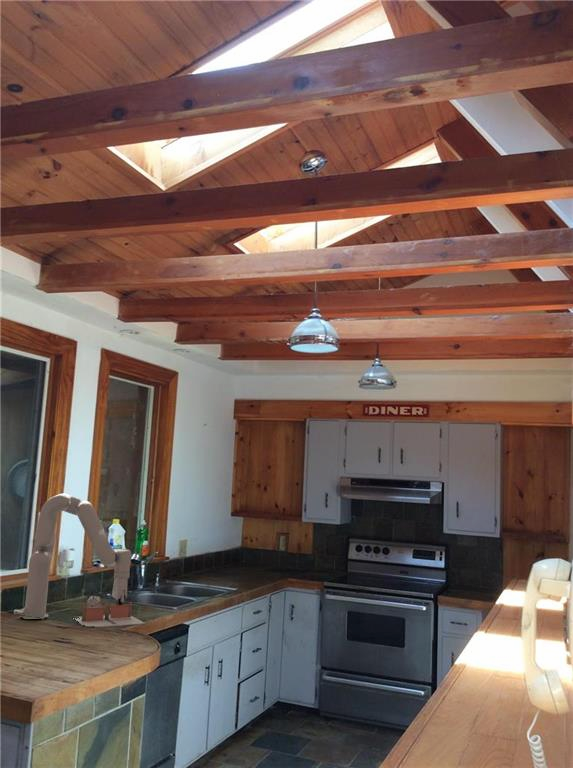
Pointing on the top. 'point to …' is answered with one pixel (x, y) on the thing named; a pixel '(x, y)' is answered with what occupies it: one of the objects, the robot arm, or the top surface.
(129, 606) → the fence panel
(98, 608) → the fence fixed
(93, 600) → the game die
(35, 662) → the top surface
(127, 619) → the card
